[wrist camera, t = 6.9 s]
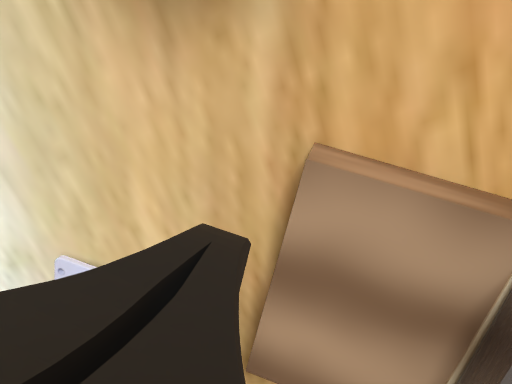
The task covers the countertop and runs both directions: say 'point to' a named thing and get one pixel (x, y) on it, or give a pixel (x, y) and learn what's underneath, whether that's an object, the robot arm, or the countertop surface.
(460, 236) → the stool seat
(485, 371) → the folding leg
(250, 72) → the countertop surface
